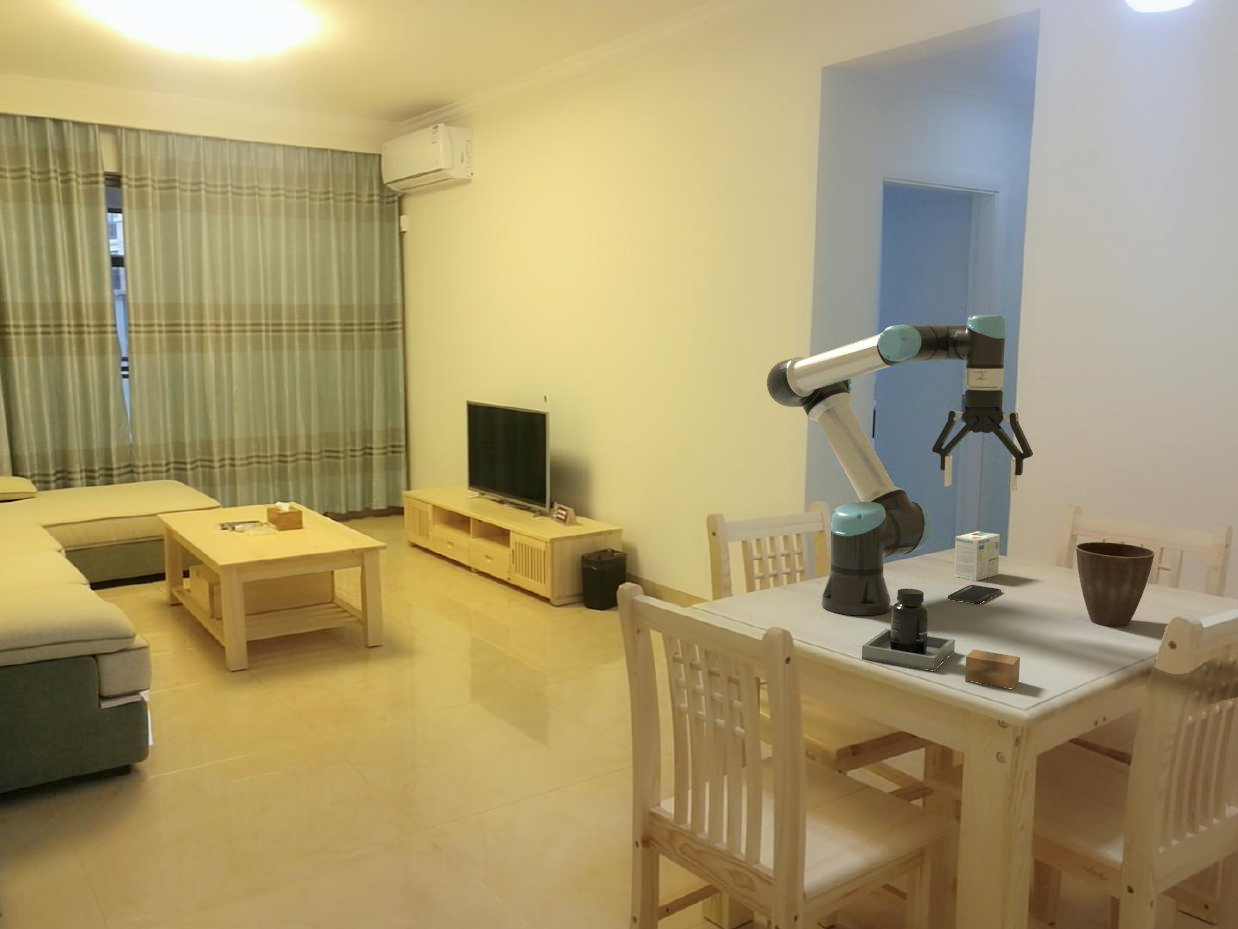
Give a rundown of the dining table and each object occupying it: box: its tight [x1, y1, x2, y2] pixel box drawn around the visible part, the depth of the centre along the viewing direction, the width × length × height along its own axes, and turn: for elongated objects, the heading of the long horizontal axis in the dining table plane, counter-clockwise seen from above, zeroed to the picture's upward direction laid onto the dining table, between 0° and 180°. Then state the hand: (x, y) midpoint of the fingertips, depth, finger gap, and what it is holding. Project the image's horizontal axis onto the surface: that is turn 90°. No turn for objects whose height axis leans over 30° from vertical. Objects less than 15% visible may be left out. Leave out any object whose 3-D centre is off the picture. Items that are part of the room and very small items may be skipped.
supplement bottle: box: [890, 588, 929, 655], centre depth 190 cm, size 7×7×12 cm
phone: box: [947, 584, 1002, 605], centre depth 235 cm, size 8×1×15 cm
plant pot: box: [1075, 541, 1155, 628], centre depth 211 cm, size 15×15×16 cm
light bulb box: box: [953, 530, 1001, 582], centre depth 254 cm, size 11×7×11 cm, turn 130°
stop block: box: [964, 649, 1021, 689], centre depth 175 cm, size 8×5×4 cm, turn 56°
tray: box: [861, 628, 956, 672], centre depth 190 cm, size 14×14×2 cm
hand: (979, 488), depth 212 cm, fingers open, 13 cm apart
